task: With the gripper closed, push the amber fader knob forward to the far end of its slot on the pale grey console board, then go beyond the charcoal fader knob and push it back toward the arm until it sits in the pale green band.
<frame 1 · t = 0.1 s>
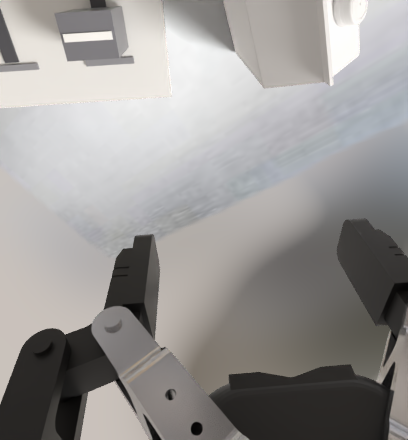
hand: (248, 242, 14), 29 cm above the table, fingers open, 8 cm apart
fader charcoal: (95, 32, 29), point 6 cm above the table, slide at 14.0 cm
milk carton: (259, 5, 33), on the table
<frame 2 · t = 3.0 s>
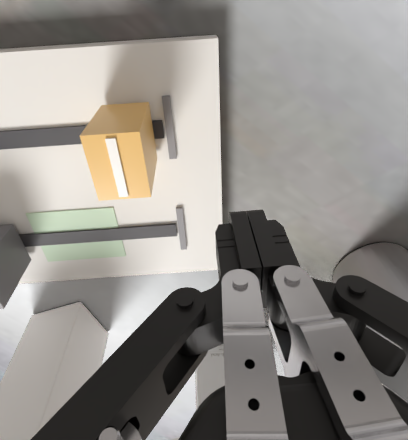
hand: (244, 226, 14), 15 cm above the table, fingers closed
fader amber: (124, 149, 22), point 6 cm above the table, slide at 0.0 cm
console board: (69, 180, 30), on the table
supplement box: (224, 352, 48), on the table
milk carton: (72, 322, 42), on the table
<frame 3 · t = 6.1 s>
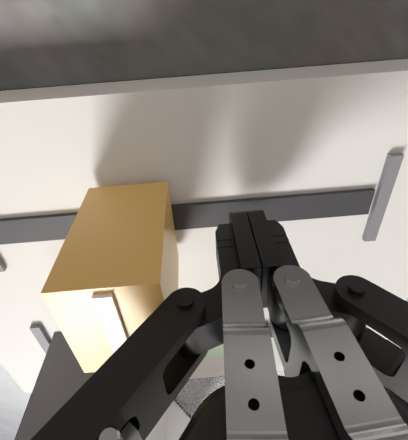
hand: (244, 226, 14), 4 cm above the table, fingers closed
fader amber: (129, 270, 13), point 6 cm above the table, slide at 9.1 cm, touching hand
console board: (188, 260, 20), on the table
fader charcoal: (80, 396, 19), point 6 cm above the table, slide at 14.0 cm
milk carton: (149, 410, 33), on the table
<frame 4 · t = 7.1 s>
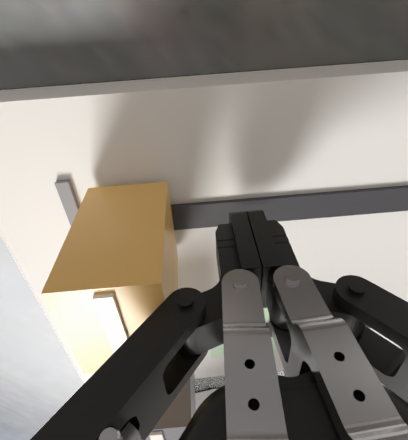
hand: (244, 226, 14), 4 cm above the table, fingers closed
fader amber: (129, 270, 13), point 6 cm above the table, slide at 14.1 cm, touching hand
console board: (265, 254, 21), on the table
fader charcoal: (163, 389, 19), point 6 cm above the table, slide at 14.0 cm
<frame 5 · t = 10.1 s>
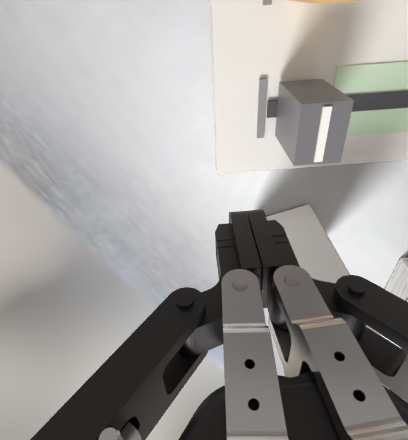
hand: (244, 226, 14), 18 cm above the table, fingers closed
console board: (380, 31, 26), on the table
fader charcoal: (308, 120, 25), point 6 cm above the table, slide at 14.0 cm
milk carton: (283, 233, 39), on the table
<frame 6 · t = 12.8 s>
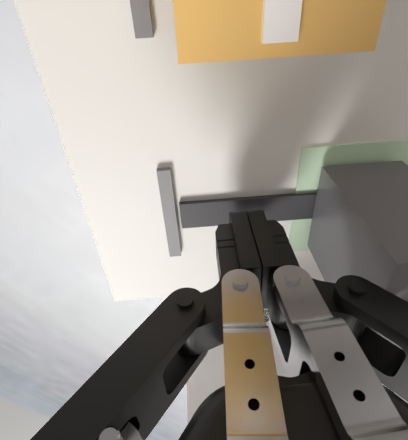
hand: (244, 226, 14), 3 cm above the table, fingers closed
console board: (382, 80, 14), on the table
fader charcoal: (383, 249, 13), point 6 cm above the table, slide at 8.4 cm, touching hand
milk carton: (240, 349, 27), on the table
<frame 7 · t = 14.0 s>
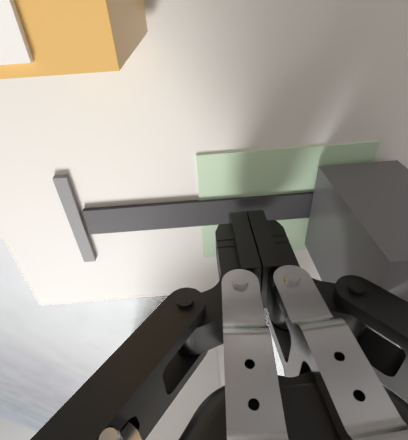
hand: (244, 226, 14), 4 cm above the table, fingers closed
console board: (280, 87, 14), on the table
fader charcoal: (378, 248, 13), point 6 cm above the table, slide at 3.9 cm, touching hand
milk carton: (186, 352, 27), on the table
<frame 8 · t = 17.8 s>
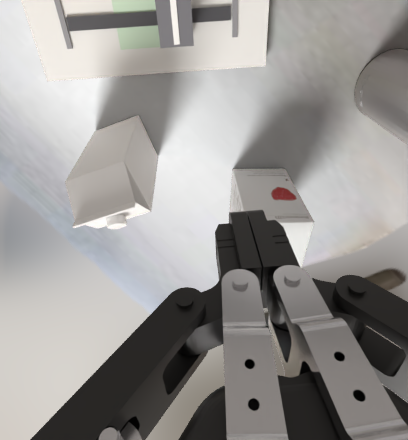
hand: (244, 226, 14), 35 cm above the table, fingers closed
supplement box: (255, 190, 55), on the table
fader charcoal: (175, 19, 34), point 6 cm above the table, slide at 3.9 cm
milk carton: (127, 143, 49), on the table
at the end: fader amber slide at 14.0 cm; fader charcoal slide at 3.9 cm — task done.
